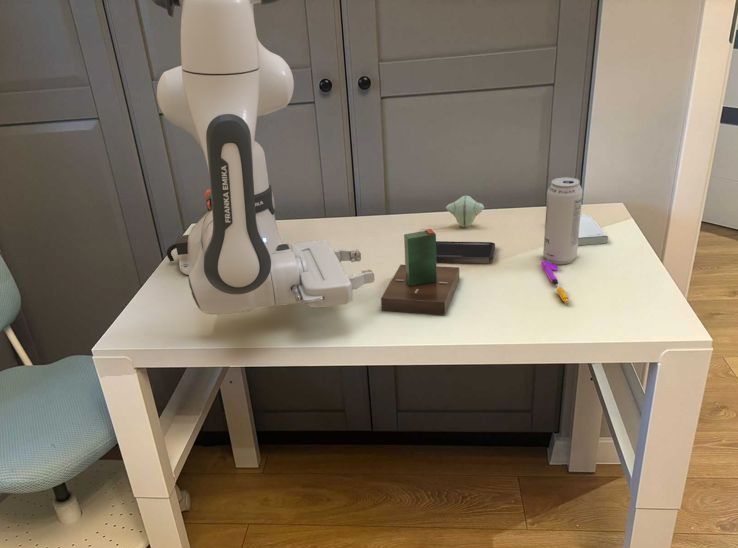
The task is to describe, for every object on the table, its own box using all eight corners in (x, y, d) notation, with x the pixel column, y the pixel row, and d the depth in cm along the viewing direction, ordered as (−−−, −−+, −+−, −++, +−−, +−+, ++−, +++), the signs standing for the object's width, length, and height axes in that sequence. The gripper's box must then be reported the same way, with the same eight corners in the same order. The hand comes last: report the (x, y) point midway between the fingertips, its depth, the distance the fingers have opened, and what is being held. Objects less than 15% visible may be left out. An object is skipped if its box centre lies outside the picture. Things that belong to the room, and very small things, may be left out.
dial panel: (444, 315, 120) (444, 301, 118) (381, 310, 123) (380, 297, 122) (459, 279, 131) (459, 266, 130) (401, 276, 135) (400, 263, 133)
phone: (420, 241, 145) (495, 242, 141) (420, 246, 146) (495, 247, 141) (413, 256, 139) (492, 258, 134) (413, 261, 139) (492, 263, 135)
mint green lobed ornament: (445, 230, 152) (445, 199, 149) (447, 223, 156) (447, 193, 152) (483, 230, 150) (484, 199, 147) (485, 223, 153) (485, 192, 150)
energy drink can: (546, 251, 138) (551, 175, 130) (578, 254, 135) (585, 176, 128) (540, 264, 133) (545, 186, 126) (573, 267, 131) (580, 187, 123)
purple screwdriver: (539, 264, 132) (562, 304, 119) (541, 258, 132) (564, 298, 118) (553, 266, 132) (577, 306, 119) (555, 260, 132) (580, 300, 118)
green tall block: (409, 286, 125) (407, 237, 120) (405, 281, 127) (403, 232, 122) (436, 281, 125) (436, 232, 121) (432, 276, 127) (431, 228, 122)
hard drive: (608, 235, 138) (589, 212, 148) (565, 238, 138) (549, 216, 149) (607, 243, 138) (588, 220, 149) (564, 246, 139) (549, 223, 150)
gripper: (294, 286, 110) (381, 271, 112) (277, 239, 128) (352, 227, 129) (299, 322, 113) (383, 307, 115) (281, 271, 131) (354, 259, 132)
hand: (366, 264), depth 122 cm, fingers open, 8 cm apart
